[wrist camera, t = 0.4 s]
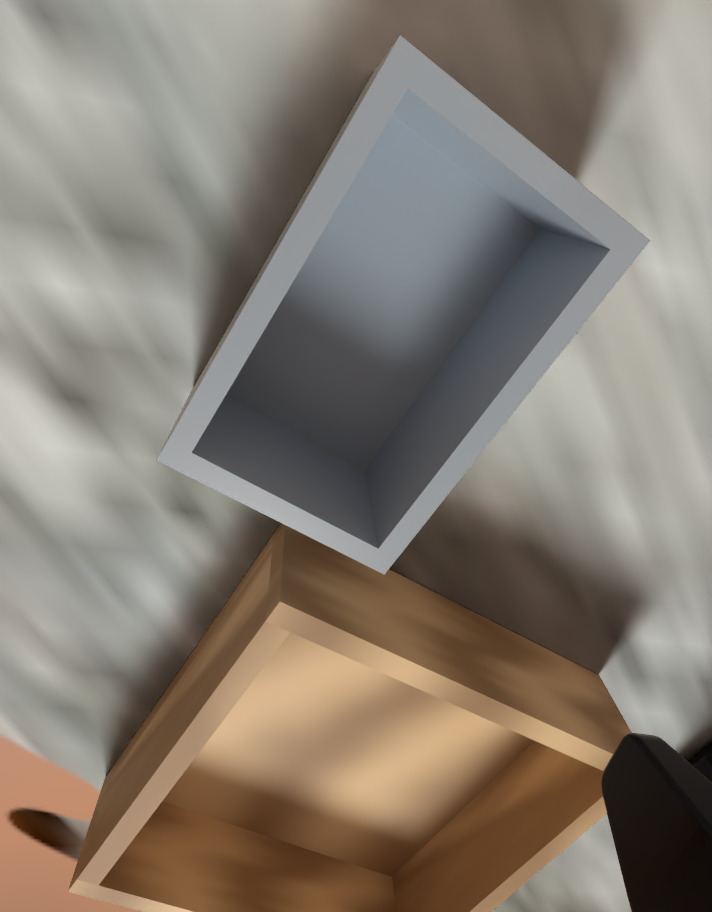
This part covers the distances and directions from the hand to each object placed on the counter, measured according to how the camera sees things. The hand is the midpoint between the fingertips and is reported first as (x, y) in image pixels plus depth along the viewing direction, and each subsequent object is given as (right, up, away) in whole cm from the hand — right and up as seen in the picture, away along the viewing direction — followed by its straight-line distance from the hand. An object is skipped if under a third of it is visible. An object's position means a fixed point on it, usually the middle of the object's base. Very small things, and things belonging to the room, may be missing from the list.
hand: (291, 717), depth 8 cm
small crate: (+1, +8, +11) cm, 13 cm away
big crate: (+1, -8, +18) cm, 20 cm away
